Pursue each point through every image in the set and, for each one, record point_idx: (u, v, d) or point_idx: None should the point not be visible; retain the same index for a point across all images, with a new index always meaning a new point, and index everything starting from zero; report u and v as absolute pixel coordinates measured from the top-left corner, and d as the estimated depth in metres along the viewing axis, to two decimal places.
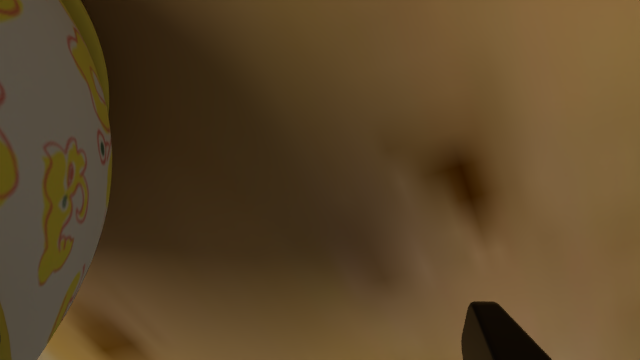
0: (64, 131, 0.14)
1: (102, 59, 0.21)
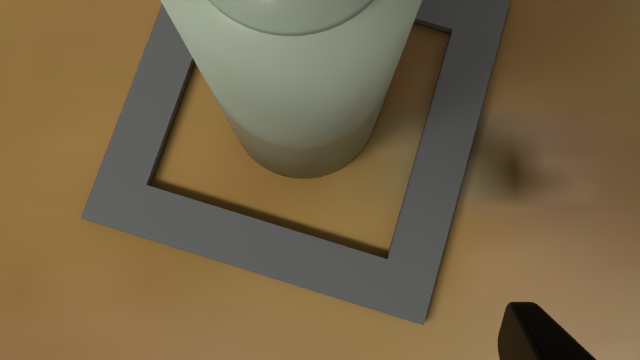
0: None
1: None
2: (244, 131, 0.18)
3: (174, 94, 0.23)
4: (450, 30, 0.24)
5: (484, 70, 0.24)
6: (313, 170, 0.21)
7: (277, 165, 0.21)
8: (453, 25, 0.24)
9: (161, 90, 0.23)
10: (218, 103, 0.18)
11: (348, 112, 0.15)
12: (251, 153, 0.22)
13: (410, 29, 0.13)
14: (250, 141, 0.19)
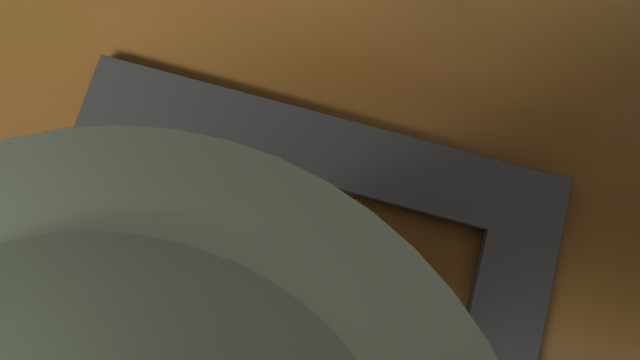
0: None
1: None
2: None
3: None
4: (484, 229, 0.16)
5: (539, 295, 0.15)
6: None
7: None
8: (488, 223, 0.16)
9: None
10: None
11: None
12: None
13: None
14: None
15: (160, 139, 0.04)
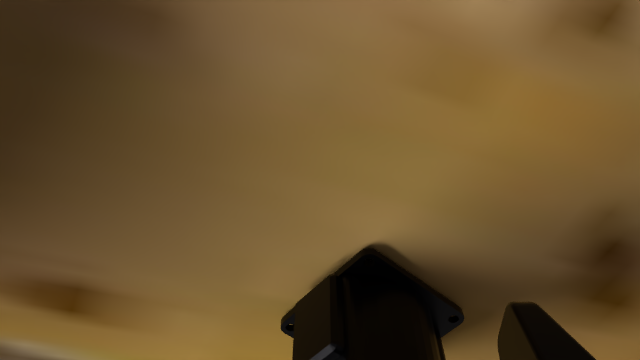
0: None
1: None
2: None
3: None
4: None
5: None
6: None
7: None
8: None
9: None
10: None
11: None
12: None
13: None
14: None
15: None
